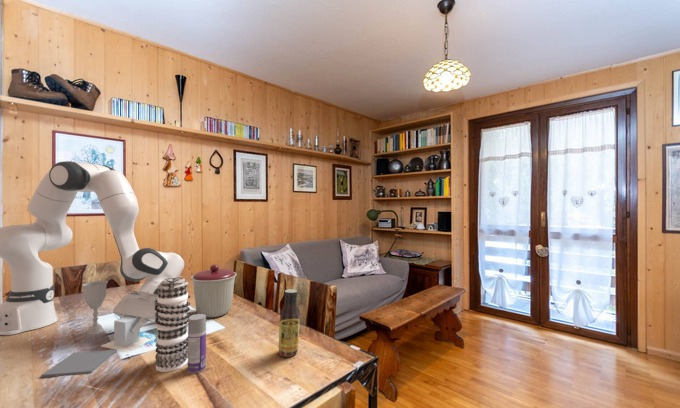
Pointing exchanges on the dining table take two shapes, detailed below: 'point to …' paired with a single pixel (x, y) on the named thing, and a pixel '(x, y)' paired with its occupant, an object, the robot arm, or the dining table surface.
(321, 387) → the dining table surface
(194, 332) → the container
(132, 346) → the card
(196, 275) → the canister
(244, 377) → the dining table surface
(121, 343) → the grey blue block
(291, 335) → the sauce bottle
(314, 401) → the dining table surface
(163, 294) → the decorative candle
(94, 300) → the chalice
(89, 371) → the slate coaster
